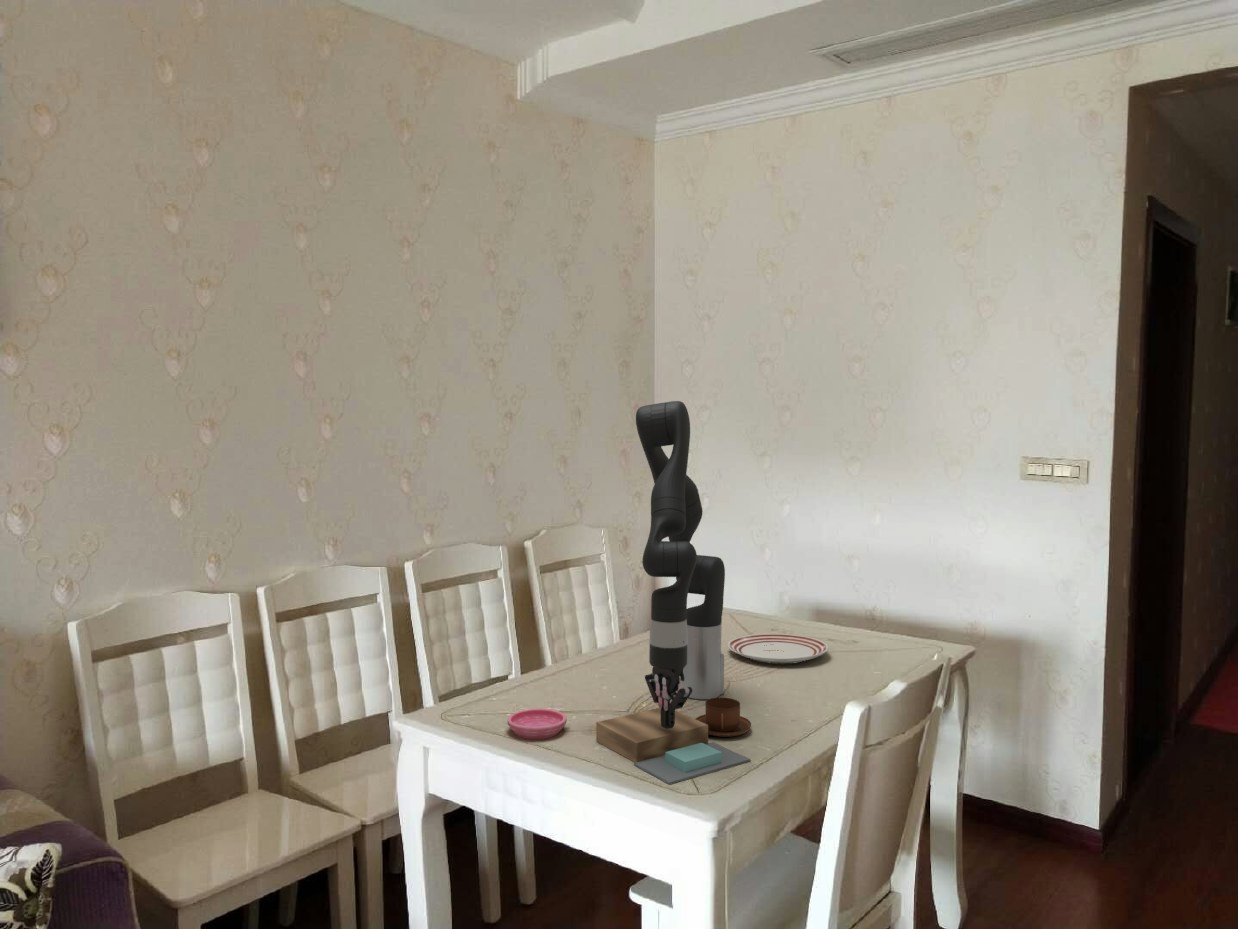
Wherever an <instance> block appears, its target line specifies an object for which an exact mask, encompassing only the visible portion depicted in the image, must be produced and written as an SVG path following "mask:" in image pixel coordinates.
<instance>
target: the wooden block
mask: <svg viewBox="0 0 1238 929" xmlns="http://www.w3.org/2000/svg"><path fill="white" fill-rule="evenodd" d="M595 724H596V726H595V729H596V730H595V734H596V735H595V736H596V738H595V742H597V743H598V744H600V745H602V746H604V747H606V748H607V749H610V750H612V751H613V752H615V753H616V754H619V755H620V756H623V758H626V759H627V760H630V761H631V762H633V763H636V762H640V761H644V760H648V759H651V758H655V757H659V756H663V755H665V752H667V751H671V750H675V749H679V748H683V747H687V746H690V745H694V744H698V743H703V744H708V743H709V734H708V725H707V724H705V723H703V722H700V721H698V720H696V718H693V717H691V716H689V715H687V714H684V713H682V712H681V711H677V710H675V724H674V727H673V728H669V729H666V728H664V727H662V726H661V708H659V707H657V708H653V709H652V708H651V709H649V710H648V709H647V710H645V711H639V712H635V713H630V714H627V715H623V716H618V717H613V718H608V719H605V720H601V721H596V722H595Z"/></svg>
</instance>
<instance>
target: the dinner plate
mask: <svg viewBox="0 0 1238 929" xmlns="http://www.w3.org/2000/svg"><path fill="white" fill-rule="evenodd" d="M770 644H774V645H770ZM764 645H765V646H764ZM766 645H767V646H766ZM727 648H728V649H729V650H730V651H732V652H733V653H735V654H737V655H739V656H742V657H744V658H748V659H749V658H750V659H749V660H752V659H753V660H752V661H755V660H757V661H756V662H759V661H761V662H760V663H764V662H770V663H769V664H771V663H794V662H801V661H804V662H807V661H808V660H809V661H810V660H812V659H813V660H814V659H817V658H819V657H820V656H823V655H824V654H826V653H827V651H828V650H829V646H828V644H827V643H826V642H824V641H822V640H820V639H817V638H815V637H814V638H813V637H811V636H806V635H798V634H791V633H789V634H788V633H756V634H754V633H753V634H748V635H743V636H738V637H736V638H733V639H731V640H729V641H728V642H727ZM763 650H776V651H770V652H769V651H763ZM777 650H779V651H777ZM781 650H782V651H781ZM783 651H784V652H783ZM806 660H807V661H806ZM801 663H802V662H801Z"/></svg>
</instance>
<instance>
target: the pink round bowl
mask: <svg viewBox="0 0 1238 929" xmlns="http://www.w3.org/2000/svg"><path fill="white" fill-rule="evenodd" d="M506 720H507V725H508V727H509V729H511V731H512V732H514V734H515V735H516V736H518V737H520V738H523V739H528V740H543V739H549V738H552V737H554V736H556V735H558V734H559V733H560V732H561V730H562V729H564V727H565V726H566V724H567V720H568V719H567V715H566V714H565V713H564V712H562V711H559V710H556V709H555V710H554V709H549V708H529V709H523V710H522V709H521V710H519V711H515V712H514V713H511V714H509V716H508V717H507V719H506Z"/></svg>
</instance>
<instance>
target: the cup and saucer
mask: <svg viewBox="0 0 1238 929" xmlns="http://www.w3.org/2000/svg"><path fill="white" fill-rule="evenodd" d="M704 713H705V714H702V715H700V716H698V717H696V718H695V719H696V720H698V721H700V722H703V723H705V724H707V725H708V736H709V735H710V736H714V737H724V738H725V737H726V738H729V737H736V736H741V735H743V734H745V733H747V732H748V731H749V730H750V729H751V727H752V722H751V721H750V720H749V719H747V718H746V717H744V716H741V702H740V701H739V700H737V699H734V698H730V697H729V698H728V697H716V698H711V699H706V700H705V712H704Z"/></svg>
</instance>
